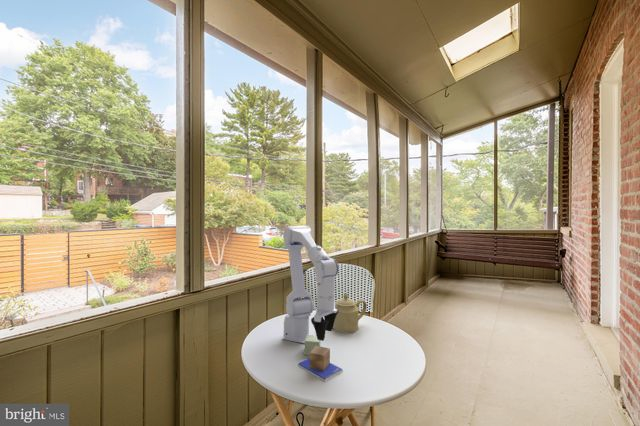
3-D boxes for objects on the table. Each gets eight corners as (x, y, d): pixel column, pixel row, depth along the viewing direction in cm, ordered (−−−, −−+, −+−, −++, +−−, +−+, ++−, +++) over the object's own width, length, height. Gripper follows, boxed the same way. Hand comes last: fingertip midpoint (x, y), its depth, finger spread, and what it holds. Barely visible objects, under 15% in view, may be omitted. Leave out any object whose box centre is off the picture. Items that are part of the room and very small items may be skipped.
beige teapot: (346, 317, 148) (346, 285, 147) (367, 323, 141) (368, 290, 140) (327, 328, 136) (327, 293, 135) (349, 335, 129) (350, 298, 128)
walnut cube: (309, 367, 103) (309, 352, 103) (315, 360, 108) (315, 345, 107) (324, 370, 101) (324, 355, 101) (329, 363, 106) (329, 348, 105)
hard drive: (342, 368, 103) (315, 354, 111) (325, 378, 97) (298, 362, 106) (342, 373, 103) (315, 358, 112) (325, 383, 97) (298, 367, 106)
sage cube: (304, 354, 113) (304, 340, 113) (306, 348, 118) (307, 334, 118) (318, 355, 112) (318, 341, 112) (320, 348, 117) (320, 335, 117)
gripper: (329, 303, 98) (328, 346, 99) (344, 291, 112) (343, 328, 113) (308, 300, 101) (307, 342, 102) (325, 288, 114) (324, 325, 115)
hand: (324, 335), depth 107 cm, fingers open, 7 cm apart
